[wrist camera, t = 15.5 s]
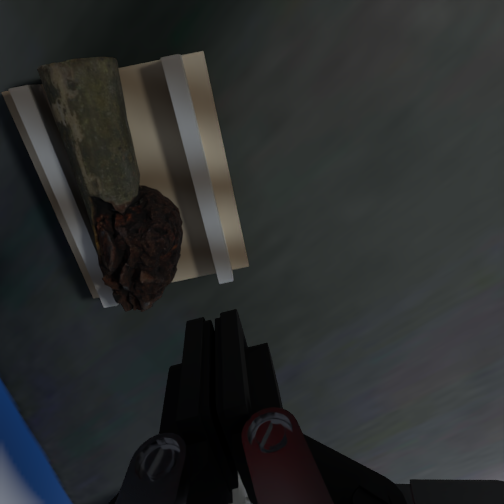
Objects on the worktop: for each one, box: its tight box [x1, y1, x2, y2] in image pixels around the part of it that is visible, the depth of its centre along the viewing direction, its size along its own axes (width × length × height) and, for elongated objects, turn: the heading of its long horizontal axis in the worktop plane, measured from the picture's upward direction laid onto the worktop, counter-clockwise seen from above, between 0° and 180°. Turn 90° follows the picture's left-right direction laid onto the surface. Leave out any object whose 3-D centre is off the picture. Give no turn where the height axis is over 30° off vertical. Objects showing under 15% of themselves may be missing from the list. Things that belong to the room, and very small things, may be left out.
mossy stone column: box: [37, 57, 183, 312], centre depth 26 cm, size 18×7×6 cm, turn 6°
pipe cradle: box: [1, 51, 249, 308], centre depth 29 cm, size 17×14×3 cm
